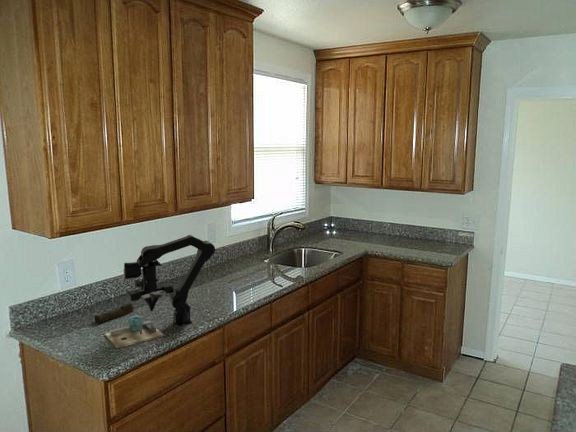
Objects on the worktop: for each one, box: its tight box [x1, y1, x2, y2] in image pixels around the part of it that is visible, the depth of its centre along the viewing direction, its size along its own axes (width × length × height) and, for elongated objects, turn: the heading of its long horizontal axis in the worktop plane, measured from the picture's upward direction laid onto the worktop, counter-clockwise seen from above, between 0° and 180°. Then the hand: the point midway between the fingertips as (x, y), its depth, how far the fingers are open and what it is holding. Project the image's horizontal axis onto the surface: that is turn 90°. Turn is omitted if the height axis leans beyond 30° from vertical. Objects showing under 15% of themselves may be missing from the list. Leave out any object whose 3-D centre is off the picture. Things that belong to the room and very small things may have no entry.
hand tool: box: [94, 303, 134, 325], centre depth 206 cm, size 19×4×5 cm, turn 142°
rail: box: [108, 320, 152, 337], centre depth 190 cm, size 17×2×2 cm, turn 128°
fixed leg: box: [145, 322, 157, 333], centre depth 191 cm, size 2×6×4 cm, turn 38°
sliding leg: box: [128, 314, 144, 334], centre depth 190 cm, size 4×9×5 cm, turn 38°
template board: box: [104, 327, 164, 349], centre depth 187 cm, size 19×15×1 cm
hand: (151, 310), depth 195 cm, fingers closed
